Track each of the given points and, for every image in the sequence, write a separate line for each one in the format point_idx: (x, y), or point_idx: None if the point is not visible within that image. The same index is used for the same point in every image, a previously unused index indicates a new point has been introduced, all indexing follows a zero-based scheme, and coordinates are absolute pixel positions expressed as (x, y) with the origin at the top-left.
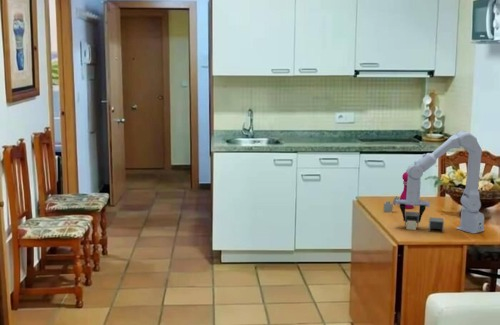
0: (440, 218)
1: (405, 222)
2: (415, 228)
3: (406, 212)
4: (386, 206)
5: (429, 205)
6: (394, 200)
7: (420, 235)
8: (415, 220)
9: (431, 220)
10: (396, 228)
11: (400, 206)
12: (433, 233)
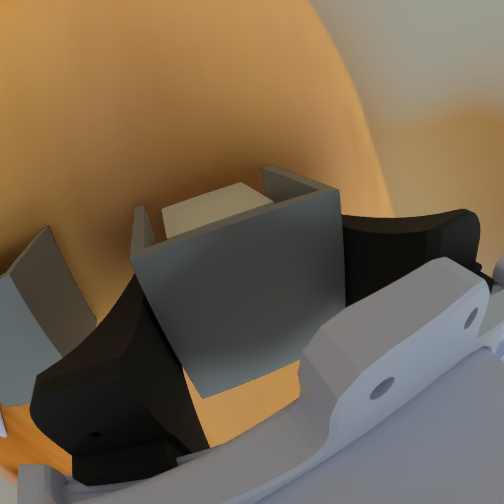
0: (10, 397)
1: (277, 171)
2: (166, 211)
3: (334, 304)
4: None
5: (19, 488)
6: None
7: (78, 59)
8: None
9: (3, 293)
10: (316, 156)
11: (475, 236)
12: (6, 199)
